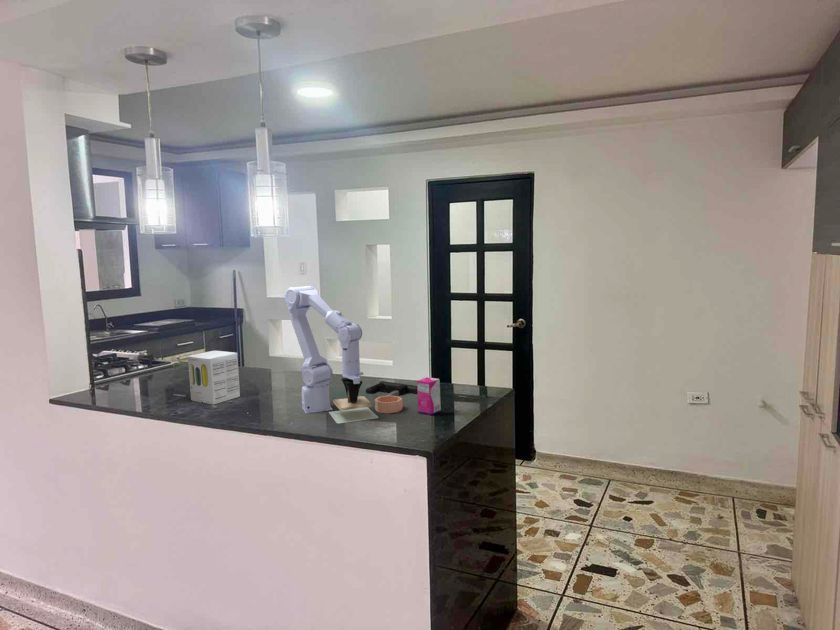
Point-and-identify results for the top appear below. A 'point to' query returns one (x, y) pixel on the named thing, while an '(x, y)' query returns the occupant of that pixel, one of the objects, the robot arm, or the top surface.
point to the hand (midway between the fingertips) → (352, 400)
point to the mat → (352, 415)
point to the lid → (352, 403)
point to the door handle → (392, 388)
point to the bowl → (388, 404)
